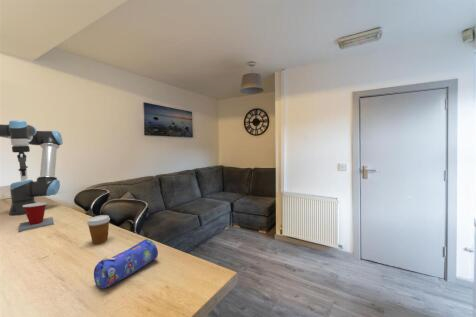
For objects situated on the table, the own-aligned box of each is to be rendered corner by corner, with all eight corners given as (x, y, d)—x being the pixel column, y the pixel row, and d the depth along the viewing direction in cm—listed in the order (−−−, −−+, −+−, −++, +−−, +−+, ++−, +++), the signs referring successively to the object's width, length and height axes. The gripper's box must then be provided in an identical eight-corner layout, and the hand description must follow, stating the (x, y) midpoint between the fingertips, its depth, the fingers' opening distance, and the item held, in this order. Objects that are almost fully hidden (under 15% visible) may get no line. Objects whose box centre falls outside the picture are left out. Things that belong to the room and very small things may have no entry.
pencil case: (104, 295, 66) (102, 266, 66) (90, 287, 70) (88, 259, 70) (160, 260, 85) (159, 238, 85) (146, 255, 90) (145, 234, 89)
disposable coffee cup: (100, 247, 98) (98, 222, 97) (83, 245, 100) (81, 221, 99) (115, 237, 107) (114, 215, 106) (100, 236, 109) (98, 214, 108)
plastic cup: (53, 219, 133) (51, 201, 132) (35, 226, 122) (33, 206, 121) (38, 219, 134) (36, 201, 133) (19, 226, 123) (17, 206, 122)
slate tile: (20, 224, 128) (20, 223, 128) (52, 218, 139) (52, 216, 139) (18, 232, 118) (18, 230, 117) (53, 224, 128) (53, 222, 128)
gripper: (29, 145, 122) (33, 181, 124) (29, 145, 140) (32, 176, 142) (10, 146, 117) (15, 183, 119) (12, 145, 134) (16, 177, 137)
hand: (24, 179), depth 130 cm, fingers open, 13 cm apart
